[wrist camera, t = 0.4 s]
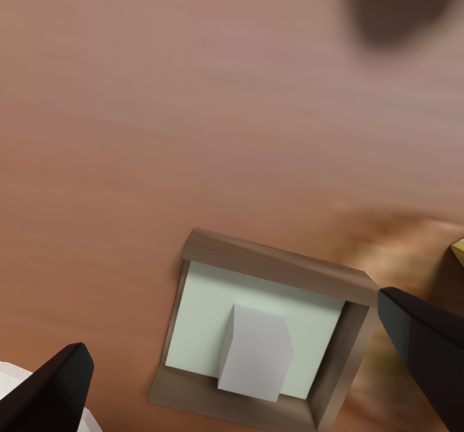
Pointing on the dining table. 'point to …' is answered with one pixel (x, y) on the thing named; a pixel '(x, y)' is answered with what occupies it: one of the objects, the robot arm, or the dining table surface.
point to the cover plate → (259, 294)
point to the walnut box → (334, 359)
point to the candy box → (459, 250)
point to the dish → (10, 376)
